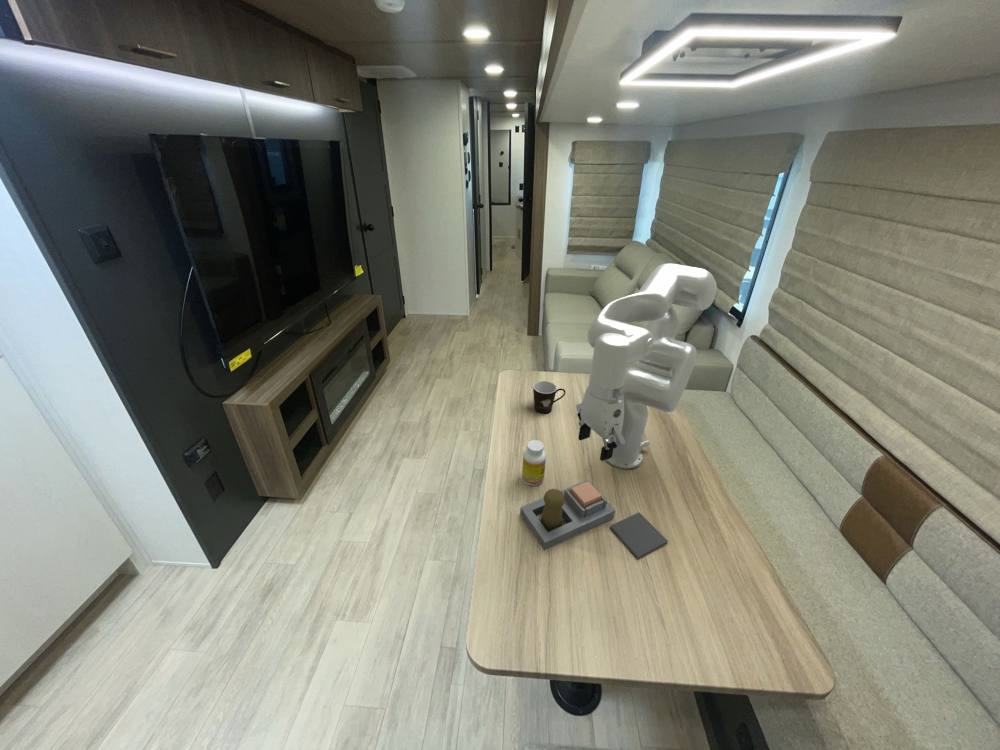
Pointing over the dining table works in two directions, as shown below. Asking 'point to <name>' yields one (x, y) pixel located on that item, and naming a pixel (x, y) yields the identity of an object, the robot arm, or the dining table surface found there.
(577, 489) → the salmon square block
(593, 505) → the frame
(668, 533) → the dining table surface
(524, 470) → the supplement bottle
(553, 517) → the brown pawn
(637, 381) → the robot arm
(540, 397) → the coffee mug
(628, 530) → the rubber mat
